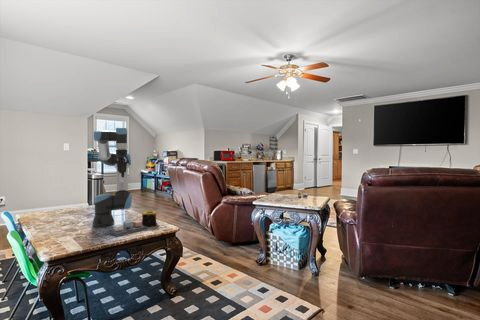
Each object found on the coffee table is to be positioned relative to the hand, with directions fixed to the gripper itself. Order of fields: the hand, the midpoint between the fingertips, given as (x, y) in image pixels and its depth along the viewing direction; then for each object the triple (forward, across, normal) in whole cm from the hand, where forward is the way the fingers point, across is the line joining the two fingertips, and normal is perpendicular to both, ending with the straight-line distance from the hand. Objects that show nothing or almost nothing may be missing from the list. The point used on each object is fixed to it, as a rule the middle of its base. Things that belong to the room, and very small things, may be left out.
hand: (122, 181), depth 198 cm
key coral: (+34, +8, +7) cm, 35 cm away
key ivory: (+34, +8, -7) cm, 35 cm away
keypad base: (+34, +8, 0) cm, 35 cm away
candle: (+35, +6, +18) cm, 40 cm away
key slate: (+32, +8, 0) cm, 33 cm away
